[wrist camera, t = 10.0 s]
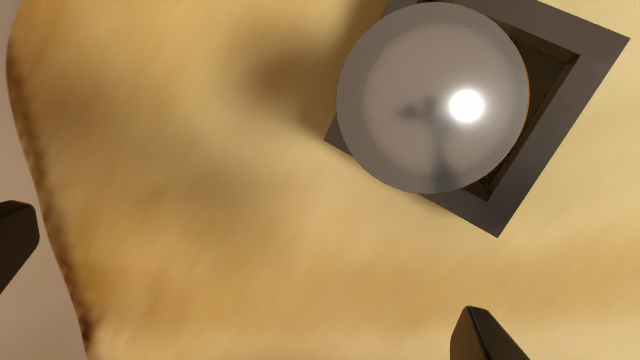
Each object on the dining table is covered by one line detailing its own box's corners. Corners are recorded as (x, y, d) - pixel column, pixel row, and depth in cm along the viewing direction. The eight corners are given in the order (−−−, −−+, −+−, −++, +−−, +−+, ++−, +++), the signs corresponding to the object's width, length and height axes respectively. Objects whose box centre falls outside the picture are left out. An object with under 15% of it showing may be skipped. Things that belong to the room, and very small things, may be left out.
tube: (537, 74, 21) (578, 49, 10) (480, 167, 23) (464, 232, 12) (439, 30, 22) (382, -34, 11) (393, 122, 24) (305, 142, 13)
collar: (608, 49, 20) (630, 38, 17) (497, 219, 23) (497, 238, 20) (424, -28, 22) (412, -51, 19) (345, 135, 25) (323, 140, 22)
